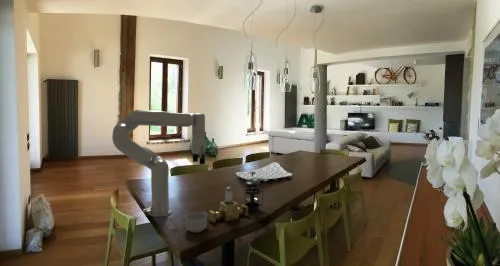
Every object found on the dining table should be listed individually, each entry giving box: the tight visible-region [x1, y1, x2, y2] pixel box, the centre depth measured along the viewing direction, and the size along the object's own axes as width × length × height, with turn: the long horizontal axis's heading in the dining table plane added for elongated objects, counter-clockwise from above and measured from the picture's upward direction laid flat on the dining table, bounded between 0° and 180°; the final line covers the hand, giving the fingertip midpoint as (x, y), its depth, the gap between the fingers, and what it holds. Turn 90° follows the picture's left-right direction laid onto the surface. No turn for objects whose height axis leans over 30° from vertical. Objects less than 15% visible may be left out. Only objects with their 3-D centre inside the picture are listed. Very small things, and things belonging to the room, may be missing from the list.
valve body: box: [208, 200, 249, 224], centre depth 186 cm, size 22×8×8 cm, turn 123°
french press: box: [244, 171, 264, 213], centre depth 199 cm, size 12×9×23 cm
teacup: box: [184, 211, 209, 234], centre depth 169 cm, size 14×11×8 cm
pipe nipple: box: [224, 186, 234, 205], centre depth 186 cm, size 4×4×12 cm
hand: (198, 162), depth 198 cm, fingers open, 9 cm apart
